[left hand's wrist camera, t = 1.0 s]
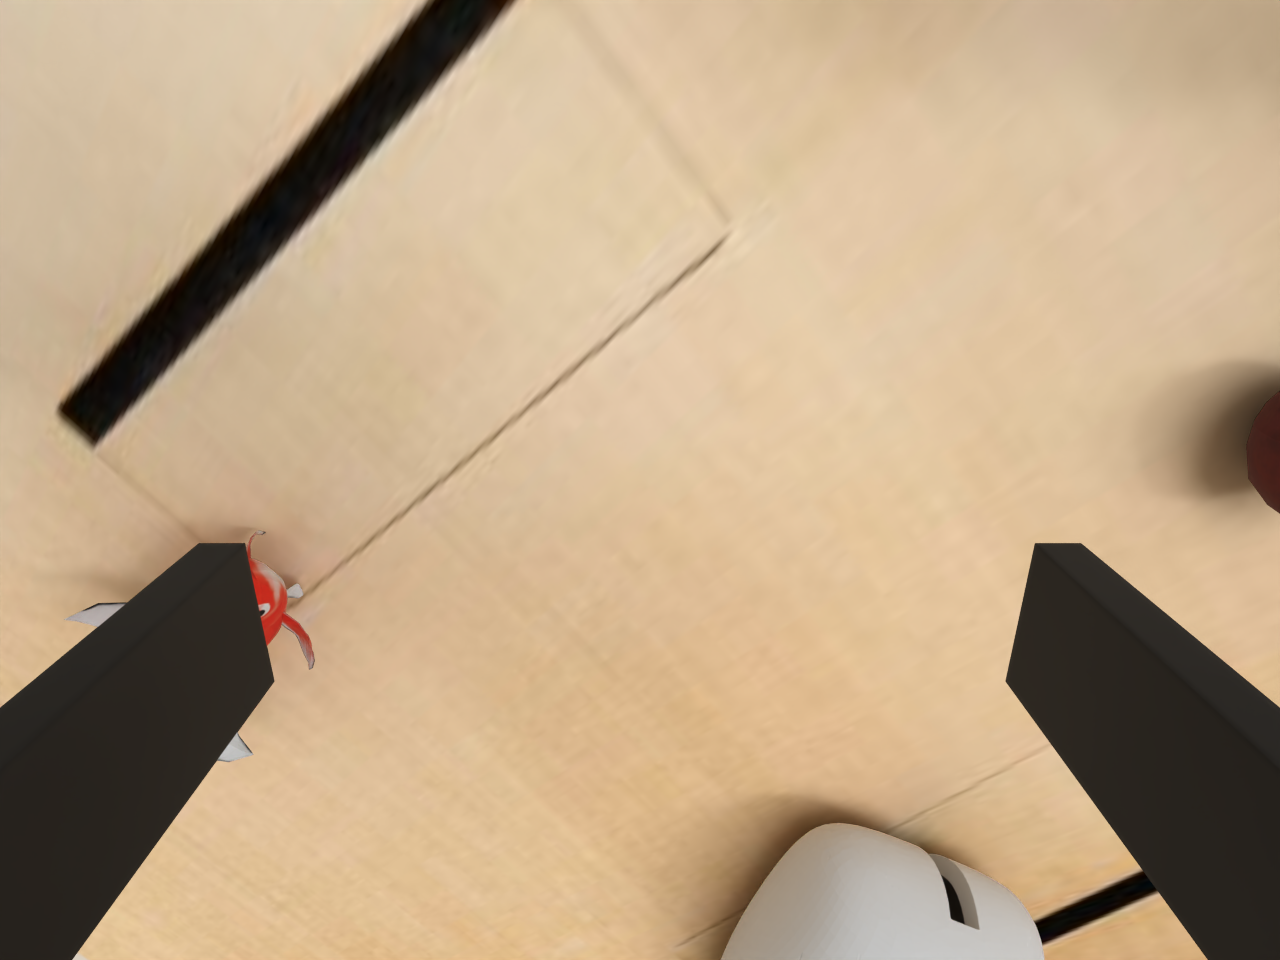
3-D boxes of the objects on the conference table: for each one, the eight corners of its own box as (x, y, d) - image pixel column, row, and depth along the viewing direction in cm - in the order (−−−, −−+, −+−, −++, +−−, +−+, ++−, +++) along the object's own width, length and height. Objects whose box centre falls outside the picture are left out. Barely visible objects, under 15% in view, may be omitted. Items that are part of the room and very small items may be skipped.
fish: (412, 681, 39) (224, 799, 31) (277, 727, 48) (105, 827, 40) (319, 493, 39) (106, 563, 31) (202, 575, 48) (15, 645, 40)
